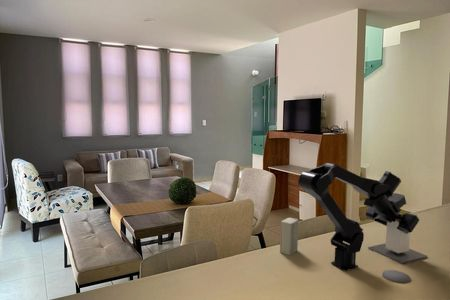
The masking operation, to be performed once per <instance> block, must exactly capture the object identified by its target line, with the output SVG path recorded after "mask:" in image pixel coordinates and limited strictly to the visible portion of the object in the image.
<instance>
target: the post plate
mask: <svg viewBox="0 0 450 300" xmlns="http://www.w3.org/2000/svg"><path fill="white" fill-rule="evenodd" d="M385 246H386V242H385V243H381V244H377V245H372V246H368V247H367V248H368V249H369V250H371V251H373V252H375V253H376V254H379V255H381V256H384V257H387V258H388V259H391V260H393V261H395V262H398V263H399V264H402V265H404V264H409V263H412V262H416V261H419V260H423V259H427V258H428V255H426V254H424V253H422V252H419V251H416V250H414V249H411V248H409V251H406V252H402V253H397V252H394V251H392V250H389V249H387V248H385Z"/></svg>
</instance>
